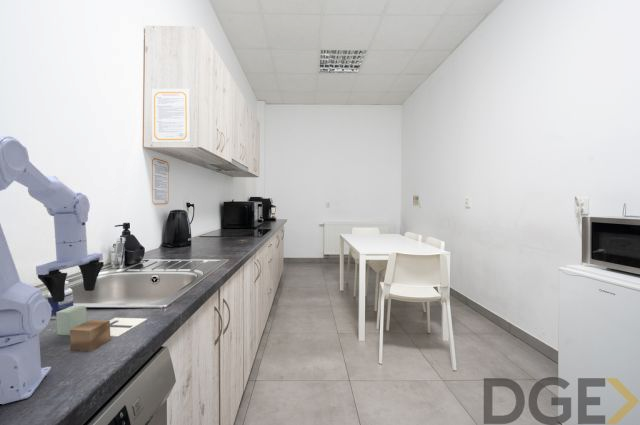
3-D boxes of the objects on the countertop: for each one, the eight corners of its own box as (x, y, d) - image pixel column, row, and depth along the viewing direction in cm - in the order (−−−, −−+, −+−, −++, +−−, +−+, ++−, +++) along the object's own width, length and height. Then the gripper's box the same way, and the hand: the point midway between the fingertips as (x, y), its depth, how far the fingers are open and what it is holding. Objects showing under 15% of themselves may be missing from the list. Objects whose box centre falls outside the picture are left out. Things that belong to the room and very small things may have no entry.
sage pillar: (72, 336, 69) (70, 312, 68) (57, 335, 69) (56, 312, 69) (87, 328, 73) (86, 306, 72) (73, 328, 73) (72, 306, 73)
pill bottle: (45, 317, 80) (43, 284, 80) (69, 310, 85) (67, 279, 85) (53, 320, 78) (51, 286, 77) (77, 313, 83) (75, 281, 82)
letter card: (117, 337, 67) (117, 336, 67) (81, 336, 69) (81, 334, 69) (147, 319, 77) (147, 318, 77) (115, 318, 78) (115, 317, 78)
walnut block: (90, 352, 61) (89, 330, 61) (70, 351, 62) (69, 329, 61) (110, 341, 66) (109, 320, 66) (92, 340, 67) (91, 319, 66)
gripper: (53, 246, 60) (58, 307, 61) (111, 237, 75) (114, 286, 76) (26, 246, 61) (30, 306, 62) (88, 237, 76) (91, 286, 76)
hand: (75, 295), depth 69 cm, fingers open, 7 cm apart
